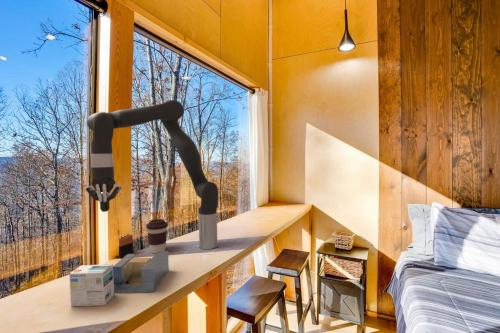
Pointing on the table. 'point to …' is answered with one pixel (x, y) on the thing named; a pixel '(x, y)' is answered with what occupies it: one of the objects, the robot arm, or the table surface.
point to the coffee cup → (157, 235)
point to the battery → (125, 245)
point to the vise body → (148, 275)
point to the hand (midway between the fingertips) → (105, 211)
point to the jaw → (122, 270)
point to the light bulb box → (91, 285)
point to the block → (136, 269)
